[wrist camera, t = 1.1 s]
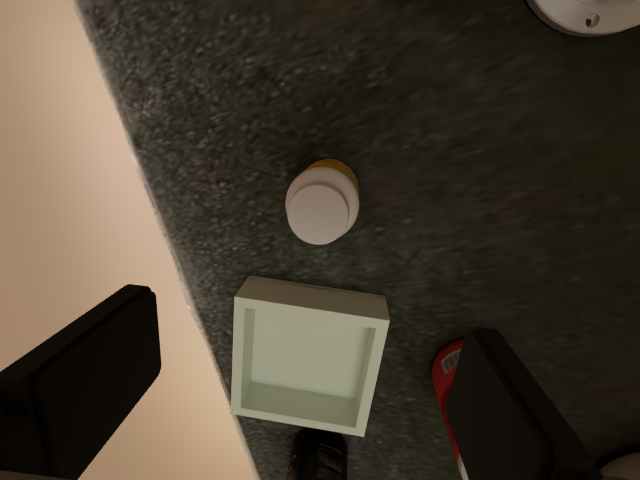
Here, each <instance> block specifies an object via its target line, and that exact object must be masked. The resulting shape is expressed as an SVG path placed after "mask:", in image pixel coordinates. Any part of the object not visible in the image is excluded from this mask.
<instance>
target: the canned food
mask: <svg viewBox="0 0 640 480" xmlns="http://www.w3.org/2000/svg"><path fill="white" fill-rule="evenodd" d="M463 341H464V339H463V340H458V341H455V342H453V343H451V344H449V345H447V346H446V347H444V348H443V349H442V350H441V351H440V352H439V353H438V354H437V356H436V358H435V359H434V362H433V365H432V375H431V377H432V383H433V386H434V389H435V393H436V396H437V399H438V403H439V406H440V409H441V413H442V416H443V419H444V423H445V426H446V429H447V433H448V436H449V439H450V443H451V446H452V449H453V453H454V456H455V459H456V462H457V465H458V468H459V471H460V473H461V475H462V478H463V480H469V479H468V476H467V473H466V470H465V467H464V464H463V462H462V459H461V456H460V453H459V450H458V447H457V444H456V441H455V438H454V436H453V433H452V430H451V427H450V424H449V421H448V418H447V414H446V403H447V399H448V396H449V392H450V389H451V385H452V381H453V378H454V374H455V370H456V367H457V363H458V359H459V356H460V352H461V349H462V345H463Z"/></svg>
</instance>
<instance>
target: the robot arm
mask: <svg viewBox="0 0 640 480" xmlns="http://www.w3.org/2000/svg"><path fill="white" fill-rule="evenodd" d="M527 2H528V4H529V6H530V8H531V9H532V10H533V11H534V12H535V14H536V15H537V16H538V17H539V18H540V19H541V20H542V21H543V22H545V23H546V24H548V25H549V26H550V27H552V28H553V29H555V30H558V31H560V32H563V33H565V34H568V35H574V36H580V37H598V36H605V35H609V34H613V33H617V32H621V31H624V30H626V29H629V28H631V27H634V26H637V25H639V24H640V0H527ZM586 21H587V25H586ZM160 369H161V355H160V342H159V329H158V317H157V304H156V295H155V293H154V292H151V290H150V288H149V287H148V286H140V285H132V284H128V285H126V286H124V287H123V288H121V289H120V290H118V291H117V292H115V293H114V294H113V295H111V296H110V297H108V298H107V299H105V300H104V301H102V302H101V303H99V304H98V305H97V306H96V307H94V308H92V309H91V310H89V311H88V312H86V313H85V314H84V315H82V316H81V317H79V318H78V319H76V320H75V321H73V322H72V323H70V324H69V325H68V326H66V327H65V328H63V329H62V330H60V331H59V332H57V333H56V334H55V335H53V336H52V337H50V338H49V339H47V340H46V341H44V342H43V343H42V344H40V345H39V346H37V347H36V348H34V349H33V350H31V351H30V352H29V353H27V354H26V355H24V356H23V357H21V358H20V359H19V360H17V361H15V362H14V363H13V364H11V365H10V366H8V367H7V368H5V369H4V370H2V371H1V372H0V480H78V478H79V477H80V476H81V474H82V473H83V472H84V471H85V469H86V468H87V467H88V465H89V464H90V463H91V462H92V460H93V459H94V458H95V456H96V455H97V454H98V453H99V451H100V450H101V449H102V447H103V446H104V445H105V444H106V442H107V441H108V440H109V438H110V437H111V436H112V435H113V433H114V432H115V431H116V429H117V428H118V427H119V425H120V424H121V423H122V422H123V420H124V419H125V418H126V417H127V415H128V414H129V413H130V412H131V410H132V409H133V408H134V406H135V405H136V404H137V403H138V401H139V400H140V399H141V397H142V396H143V395H144V393H145V392H146V391H147V390H148V388H149V387H150V386H151V385H152V383H153V382H154V380H155V379H156V378H157V377H158V375H159V373H160ZM446 414H447V418H448V421H449V424H450V427H451V430H452V433H453V436H454V438H455V441H456V444H457V447H458V450H459V453H460V456H461V459H462V462H463V464H464V467H465V470H466V473H467V476H468V479H469V480H627V479H624V478H621V477H612V476H608V477H605V478H604V477H603V475H602V474H601V473H600V471H599V470H598V469H597V467H596V466H595V464H596V460H595V459H594V458H593V456H592V455H591V454H590V452H589V451H588V450H587V448H586V447H585V446H584V444H583V443H582V442H581V440H580V439H579V438H578V436H577V435H576V434H575V432H574V431H573V430H572V428H571V427H570V426H569V424H568V423H567V422H566V420H565V419H564V418H563V416H562V415H561V414H560V412H559V411H558V410H557V408H556V407H555V406H554V404H553V403H552V402H551V400H550V399H549V398H548V396H547V395H546V394H545V392H544V391H543V390H542V389H541V387H540V386H539V385H538V383H537V382H536V381H535V379H534V378H533V377H532V375H531V374H530V373H529V371H528V370H527V369H526V367H525V366H524V365H523V363H522V362H521V361H520V359H519V358H518V357H517V355H516V354H515V353H514V351H513V350H512V349H511V347H510V346H509V345H508V343H507V342H506V341H505V339H504V338H503V337H502V335H501V334H500V333H499V332H498V331H497V330H495V329H487V328H479V327H475V328H473V330H472V332H471V331H468V332H467V333H466V335H465V338H464V341H463V345H462V349H461V352H460V356H459V359H458V363H457V367H456V370H455V374H454V378H453V381H452V385H451V389H450V392H449V396H448V399H447V403H446Z"/></svg>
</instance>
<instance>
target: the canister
mask: <svg viewBox="0 0 640 480" xmlns="http://www.w3.org/2000/svg"><path fill="white" fill-rule="evenodd" d="M599 471H600V473H601V474H602V475H603V477H604V478H605V477H608V476H612V477H621V478H624V479H627V480H640V452H634V453H632V454H628V455H627V454H626V455H624V456H623V457H620V458H617V459H615V460H614V461H610V462H609V463H608V464H607V465H604V466H603V467H602V469H600V470H599Z"/></svg>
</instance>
